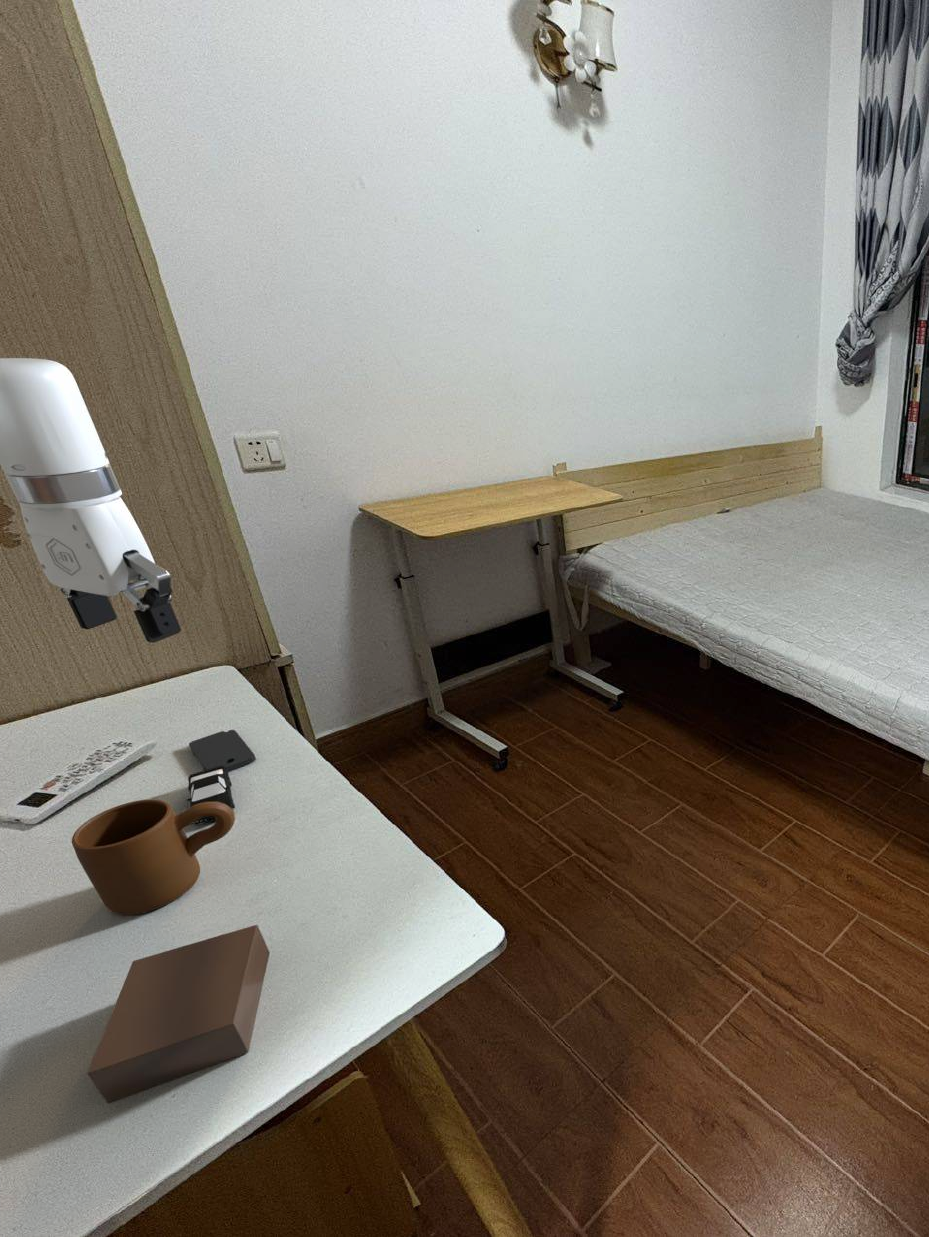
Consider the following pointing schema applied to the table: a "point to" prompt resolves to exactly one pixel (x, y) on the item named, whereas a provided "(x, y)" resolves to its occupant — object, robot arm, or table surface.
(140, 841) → the mug
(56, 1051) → the table surface
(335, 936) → the table surface
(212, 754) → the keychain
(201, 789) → the toy car
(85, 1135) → the table surface
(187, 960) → the walnut block
